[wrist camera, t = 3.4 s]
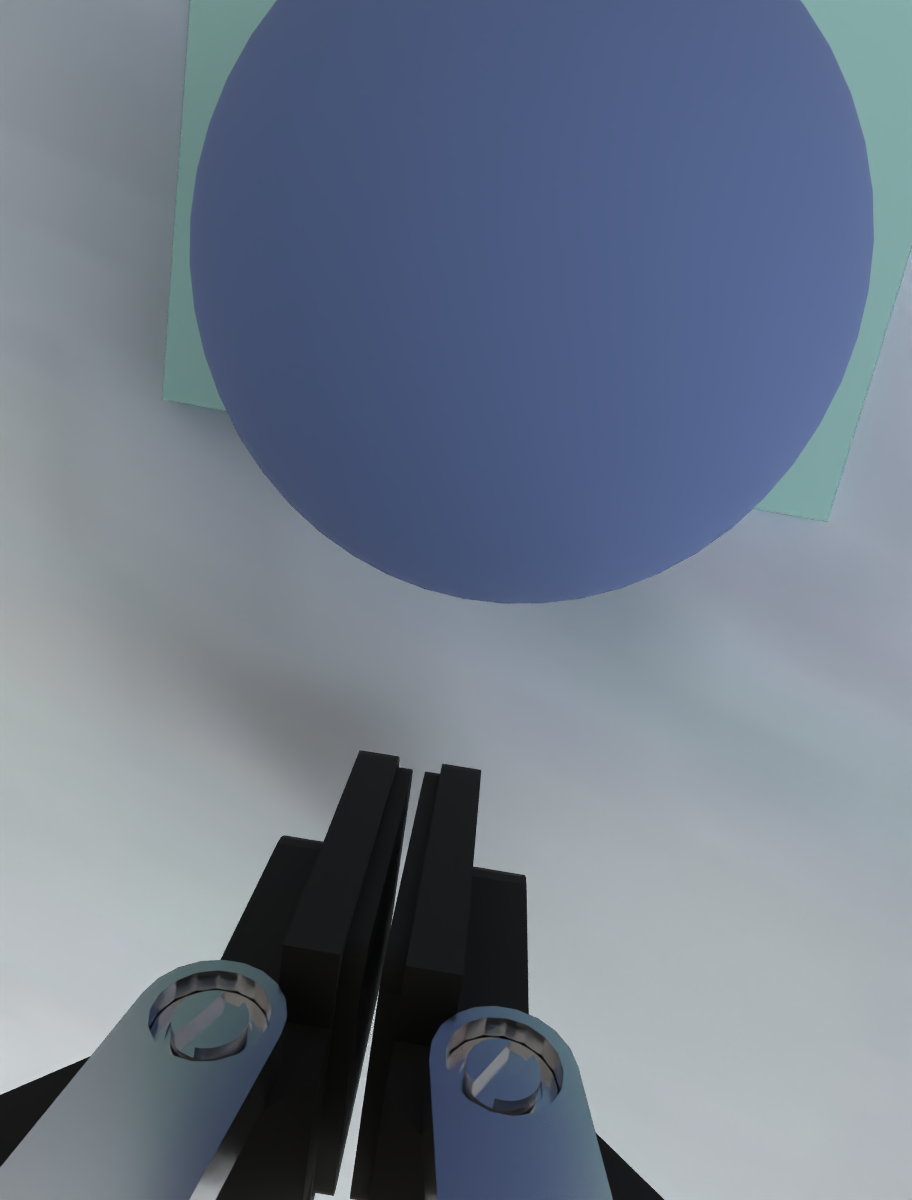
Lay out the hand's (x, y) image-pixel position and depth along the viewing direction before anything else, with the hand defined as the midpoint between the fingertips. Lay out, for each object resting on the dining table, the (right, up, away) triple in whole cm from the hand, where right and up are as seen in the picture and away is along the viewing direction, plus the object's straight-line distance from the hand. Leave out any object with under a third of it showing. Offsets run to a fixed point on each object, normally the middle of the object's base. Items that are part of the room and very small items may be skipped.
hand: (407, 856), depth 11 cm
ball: (+1, +6, -3) cm, 7 cm away
